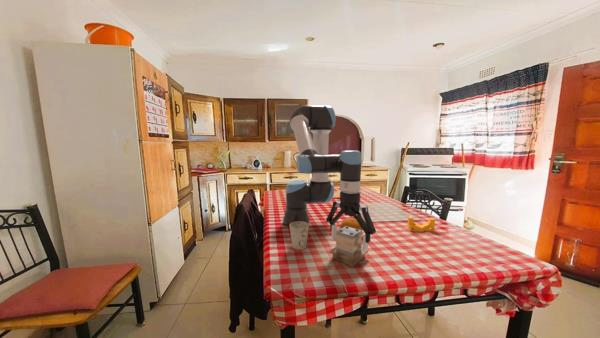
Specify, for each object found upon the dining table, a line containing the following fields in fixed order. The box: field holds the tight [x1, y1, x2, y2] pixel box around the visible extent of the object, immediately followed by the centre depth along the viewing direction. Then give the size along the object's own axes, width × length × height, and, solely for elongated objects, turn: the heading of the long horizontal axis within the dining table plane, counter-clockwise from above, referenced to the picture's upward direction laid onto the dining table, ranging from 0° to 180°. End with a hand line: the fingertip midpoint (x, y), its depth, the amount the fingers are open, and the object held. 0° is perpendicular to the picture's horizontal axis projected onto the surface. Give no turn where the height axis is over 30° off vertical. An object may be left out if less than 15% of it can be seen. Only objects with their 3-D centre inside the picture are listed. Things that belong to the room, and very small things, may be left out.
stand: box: [328, 246, 369, 267], centre depth 88 cm, size 11×11×3 cm
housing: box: [335, 226, 363, 257], centre depth 87 cm, size 7×7×8 cm
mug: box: [288, 221, 310, 250], centre depth 99 cm, size 8×13×10 cm, turn 28°
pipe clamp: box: [407, 216, 436, 233], centre depth 115 cm, size 12×4×6 cm, turn 77°
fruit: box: [339, 217, 364, 232], centre depth 109 cm, size 10×10×8 cm
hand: (348, 244), depth 87 cm, fingers open, 13 cm apart
